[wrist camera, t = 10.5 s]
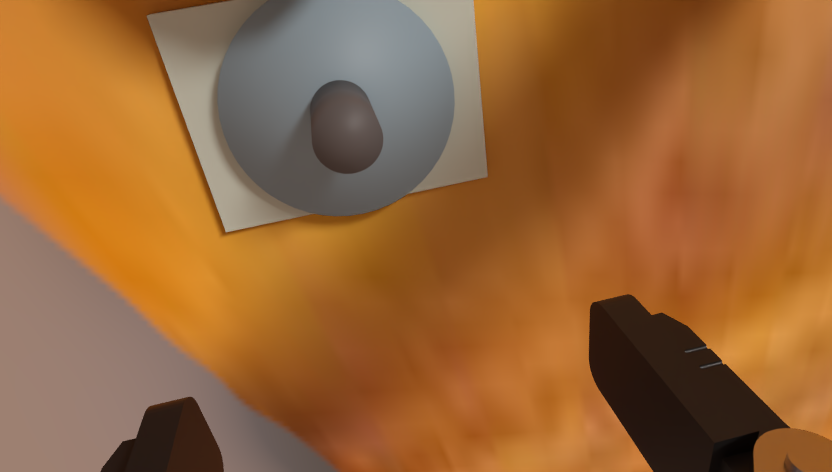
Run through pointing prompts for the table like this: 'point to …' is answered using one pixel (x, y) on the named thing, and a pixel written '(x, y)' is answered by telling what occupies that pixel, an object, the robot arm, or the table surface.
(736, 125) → the table surface
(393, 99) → the lid
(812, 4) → the table surface
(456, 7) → the mat
